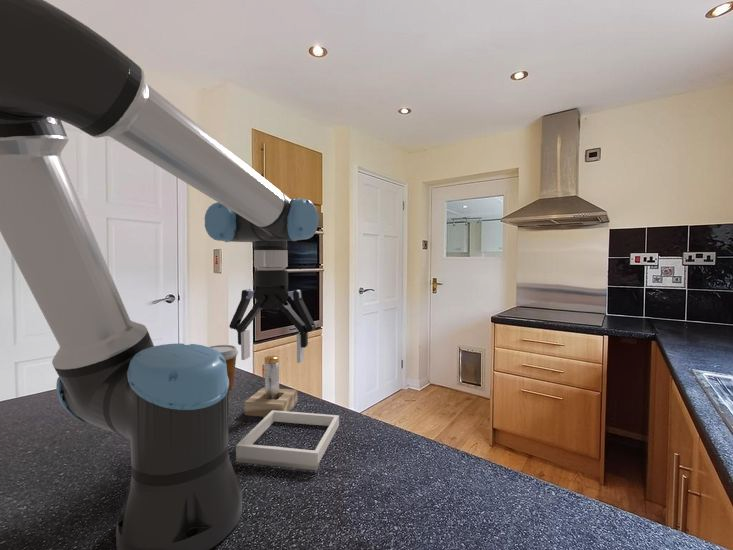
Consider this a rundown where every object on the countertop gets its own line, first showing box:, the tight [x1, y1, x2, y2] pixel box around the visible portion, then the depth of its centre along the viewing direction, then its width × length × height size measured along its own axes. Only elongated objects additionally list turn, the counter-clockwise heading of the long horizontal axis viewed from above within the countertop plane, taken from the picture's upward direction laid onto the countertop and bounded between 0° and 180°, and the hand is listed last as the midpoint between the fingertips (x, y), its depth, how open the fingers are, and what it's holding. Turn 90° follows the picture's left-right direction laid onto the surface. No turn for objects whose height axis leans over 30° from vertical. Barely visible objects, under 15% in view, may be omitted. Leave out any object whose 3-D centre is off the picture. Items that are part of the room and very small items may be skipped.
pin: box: [264, 355, 280, 400], centre depth 83 cm, size 3×3×12 cm
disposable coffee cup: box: [209, 344, 239, 392], centre depth 96 cm, size 10×10×12 cm
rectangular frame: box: [235, 410, 340, 471], centre depth 69 cm, size 15×15×3 cm
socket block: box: [244, 387, 298, 418], centre depth 84 cm, size 9×9×4 cm
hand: (272, 359), depth 84 cm, fingers open, 13 cm apart
